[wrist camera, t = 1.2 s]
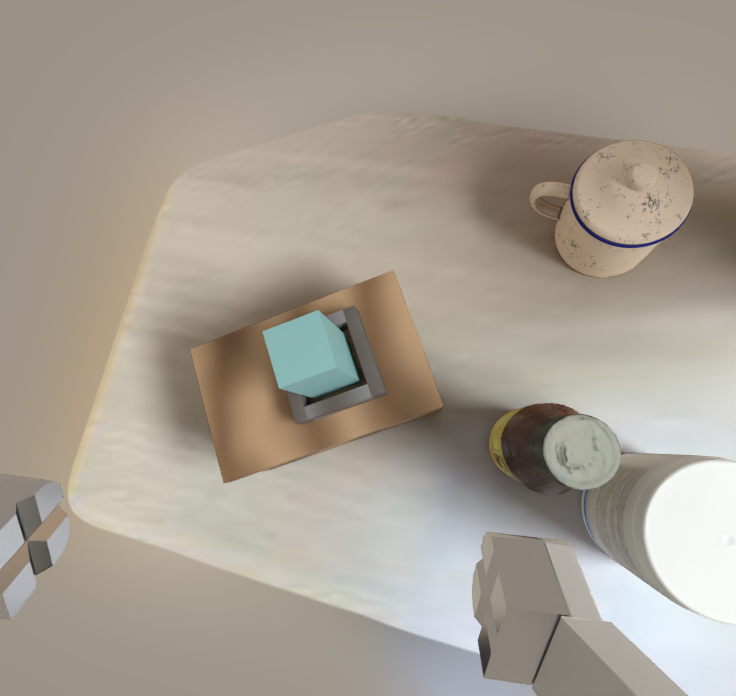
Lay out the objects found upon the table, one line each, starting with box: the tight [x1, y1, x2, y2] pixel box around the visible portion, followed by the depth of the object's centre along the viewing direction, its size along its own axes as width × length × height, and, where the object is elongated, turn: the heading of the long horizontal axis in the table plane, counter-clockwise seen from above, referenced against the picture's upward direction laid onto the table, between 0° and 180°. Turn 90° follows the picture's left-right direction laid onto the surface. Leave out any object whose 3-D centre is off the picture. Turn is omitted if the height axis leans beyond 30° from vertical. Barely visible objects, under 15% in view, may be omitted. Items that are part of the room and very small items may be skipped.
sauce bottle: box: [489, 403, 621, 495], centre depth 36 cm, size 6×6×20 cm
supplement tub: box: [581, 453, 736, 625], centre depth 36 cm, size 10×10×15 cm
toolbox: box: [190, 270, 444, 483], centre depth 44 cm, size 19×12×12 cm, turn 109°
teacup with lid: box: [530, 140, 694, 277], centre depth 42 cm, size 12×9×12 cm
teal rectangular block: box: [262, 310, 362, 399], centre depth 36 cm, size 4×4×8 cm
